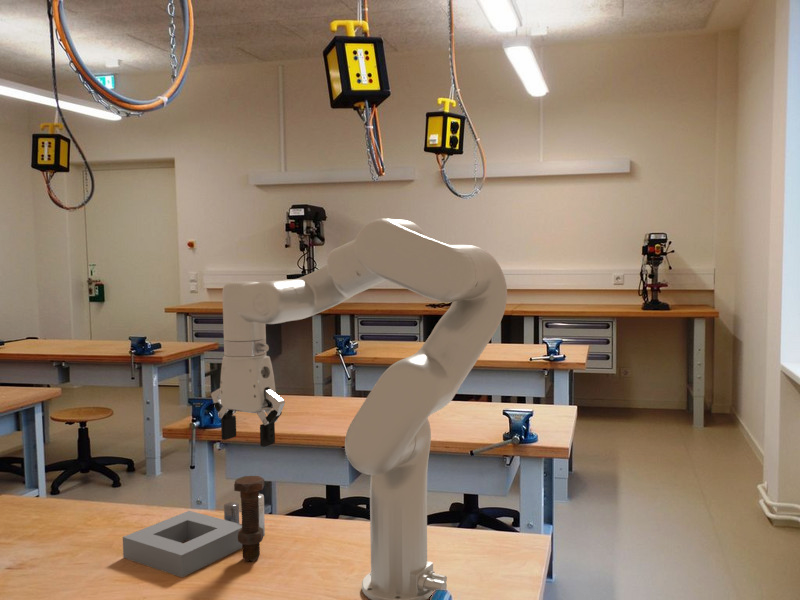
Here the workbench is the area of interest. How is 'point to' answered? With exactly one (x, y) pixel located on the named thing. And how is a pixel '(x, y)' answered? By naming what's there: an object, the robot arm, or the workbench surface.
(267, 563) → the workbench surface
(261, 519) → the pin mid
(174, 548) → the frame
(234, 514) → the pin short
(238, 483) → the bolt
